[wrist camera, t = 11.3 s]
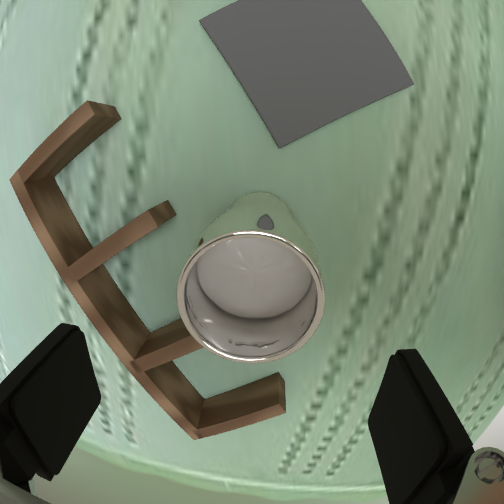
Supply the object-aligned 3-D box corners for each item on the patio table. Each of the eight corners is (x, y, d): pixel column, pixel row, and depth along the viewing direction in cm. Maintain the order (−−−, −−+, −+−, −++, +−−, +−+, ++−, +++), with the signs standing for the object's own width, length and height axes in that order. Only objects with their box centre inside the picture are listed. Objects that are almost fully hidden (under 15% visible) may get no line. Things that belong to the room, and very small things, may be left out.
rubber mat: (411, 85, 23) (414, 84, 23) (279, 148, 26) (279, 148, 25) (331, -32, 20) (332, -35, 19) (200, 22, 22) (199, 20, 22)
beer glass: (229, 178, 27) (185, 207, 13) (308, 197, 27) (351, 248, 13) (213, 253, 29) (164, 347, 15) (287, 271, 29) (302, 379, 15)
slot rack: (284, 381, 33) (286, 412, 28) (201, 410, 35) (193, 440, 30) (114, 106, 25) (87, 100, 20) (39, 173, 27) (9, 179, 23)
